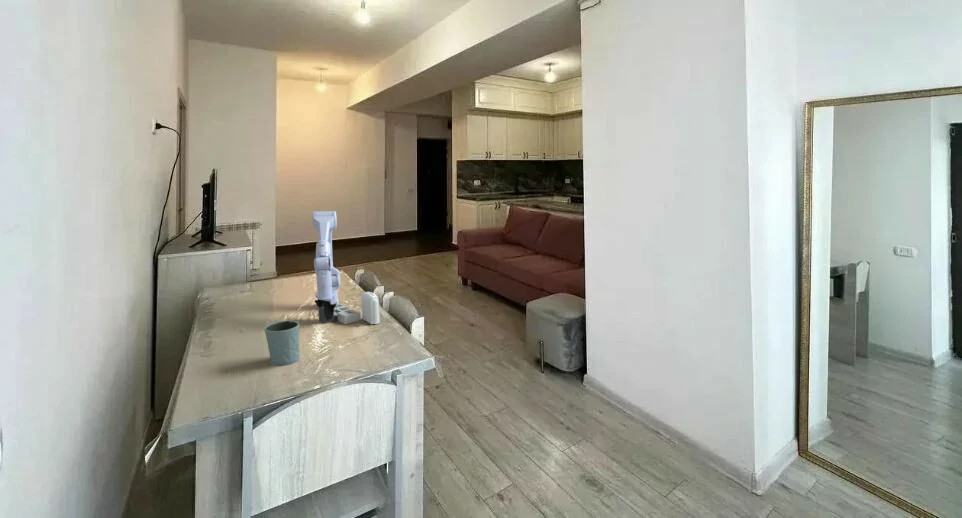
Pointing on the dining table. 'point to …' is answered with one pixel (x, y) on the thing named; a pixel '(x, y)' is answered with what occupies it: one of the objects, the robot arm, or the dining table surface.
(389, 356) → the dining table surface
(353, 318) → the power strip
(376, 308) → the photo printer
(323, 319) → the charger
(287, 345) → the grey-green cup
